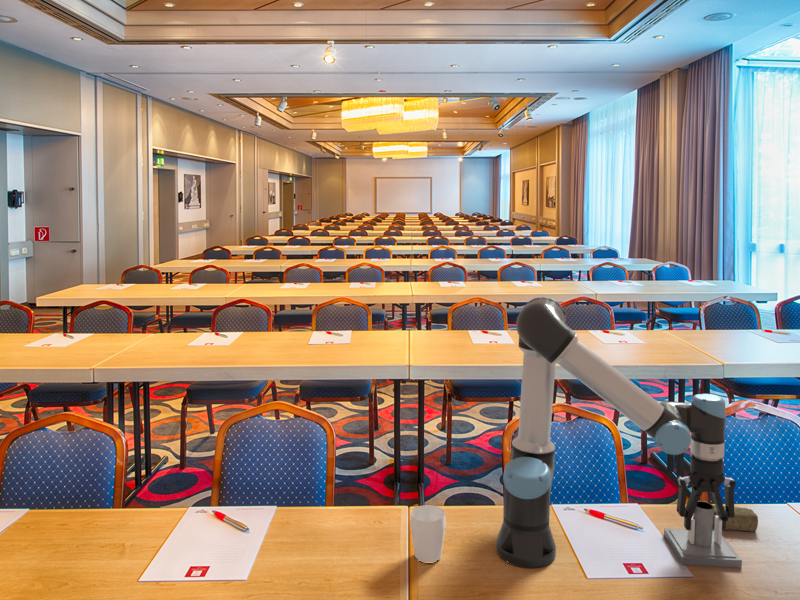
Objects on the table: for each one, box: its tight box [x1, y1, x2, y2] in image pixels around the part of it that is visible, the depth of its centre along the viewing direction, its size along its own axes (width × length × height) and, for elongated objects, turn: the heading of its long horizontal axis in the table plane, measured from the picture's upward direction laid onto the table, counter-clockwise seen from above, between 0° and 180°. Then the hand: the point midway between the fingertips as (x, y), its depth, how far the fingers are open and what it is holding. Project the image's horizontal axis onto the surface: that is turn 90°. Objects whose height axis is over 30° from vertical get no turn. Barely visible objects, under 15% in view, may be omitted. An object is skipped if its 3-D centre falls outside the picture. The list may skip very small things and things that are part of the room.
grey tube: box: [692, 500, 714, 547], centre depth 153 cm, size 4×4×10 cm
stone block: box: [712, 504, 759, 532], centre depth 166 cm, size 6×12×5 cm, turn 79°
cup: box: [409, 504, 447, 562], centre depth 152 cm, size 9×9×12 cm
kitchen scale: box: [663, 528, 743, 569], centre depth 154 cm, size 14×14×2 cm
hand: (704, 541), depth 154 cm, fingers open, 6 cm apart
